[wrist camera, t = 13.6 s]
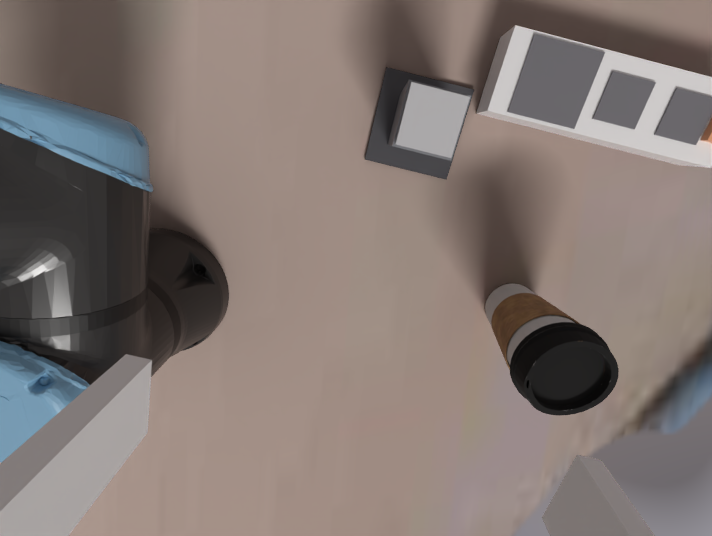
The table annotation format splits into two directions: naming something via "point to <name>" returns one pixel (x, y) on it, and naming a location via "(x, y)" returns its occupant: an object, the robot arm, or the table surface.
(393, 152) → the mat
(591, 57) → the power strip
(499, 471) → the table surface
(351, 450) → the table surface
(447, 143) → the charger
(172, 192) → the table surface
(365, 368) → the table surface
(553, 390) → the coffee cup
